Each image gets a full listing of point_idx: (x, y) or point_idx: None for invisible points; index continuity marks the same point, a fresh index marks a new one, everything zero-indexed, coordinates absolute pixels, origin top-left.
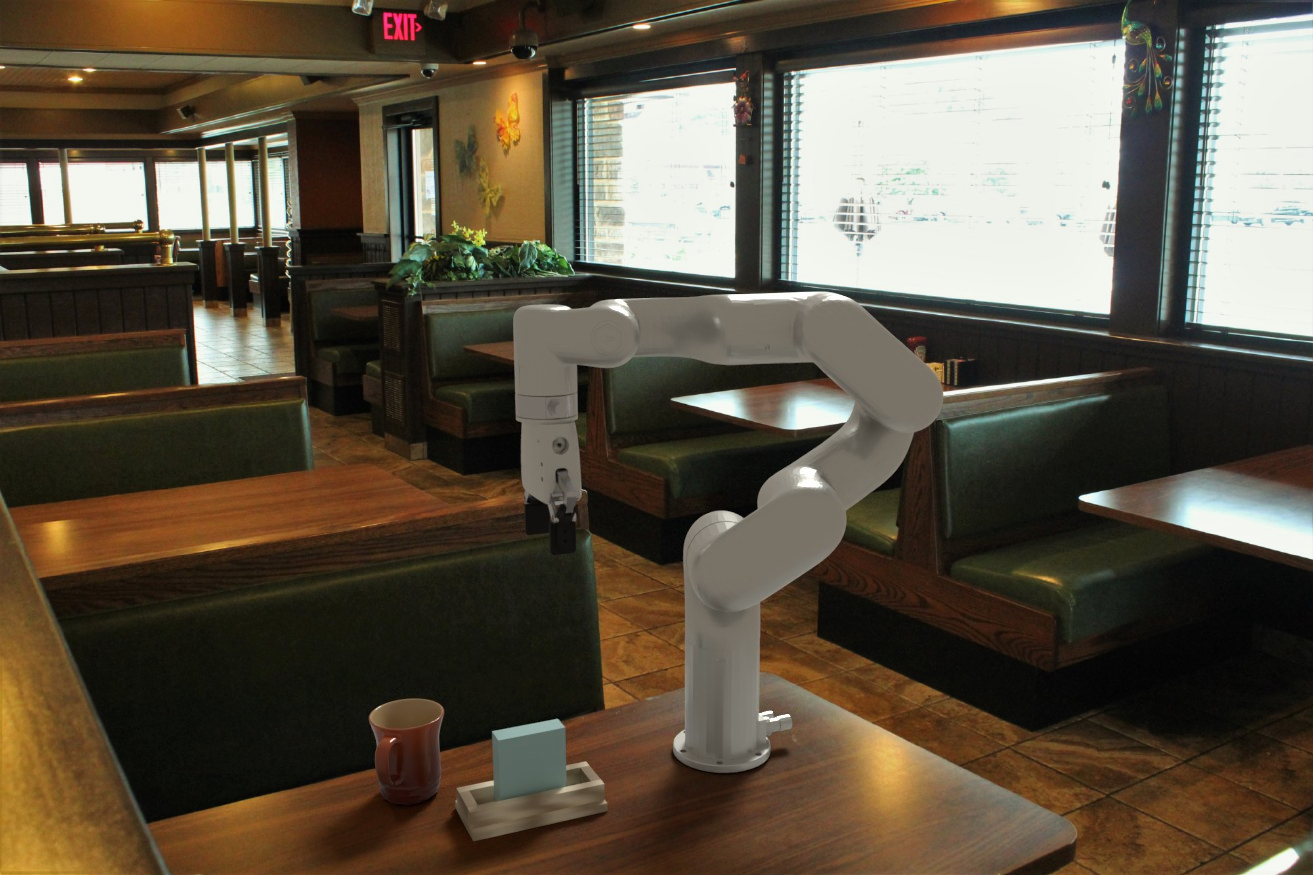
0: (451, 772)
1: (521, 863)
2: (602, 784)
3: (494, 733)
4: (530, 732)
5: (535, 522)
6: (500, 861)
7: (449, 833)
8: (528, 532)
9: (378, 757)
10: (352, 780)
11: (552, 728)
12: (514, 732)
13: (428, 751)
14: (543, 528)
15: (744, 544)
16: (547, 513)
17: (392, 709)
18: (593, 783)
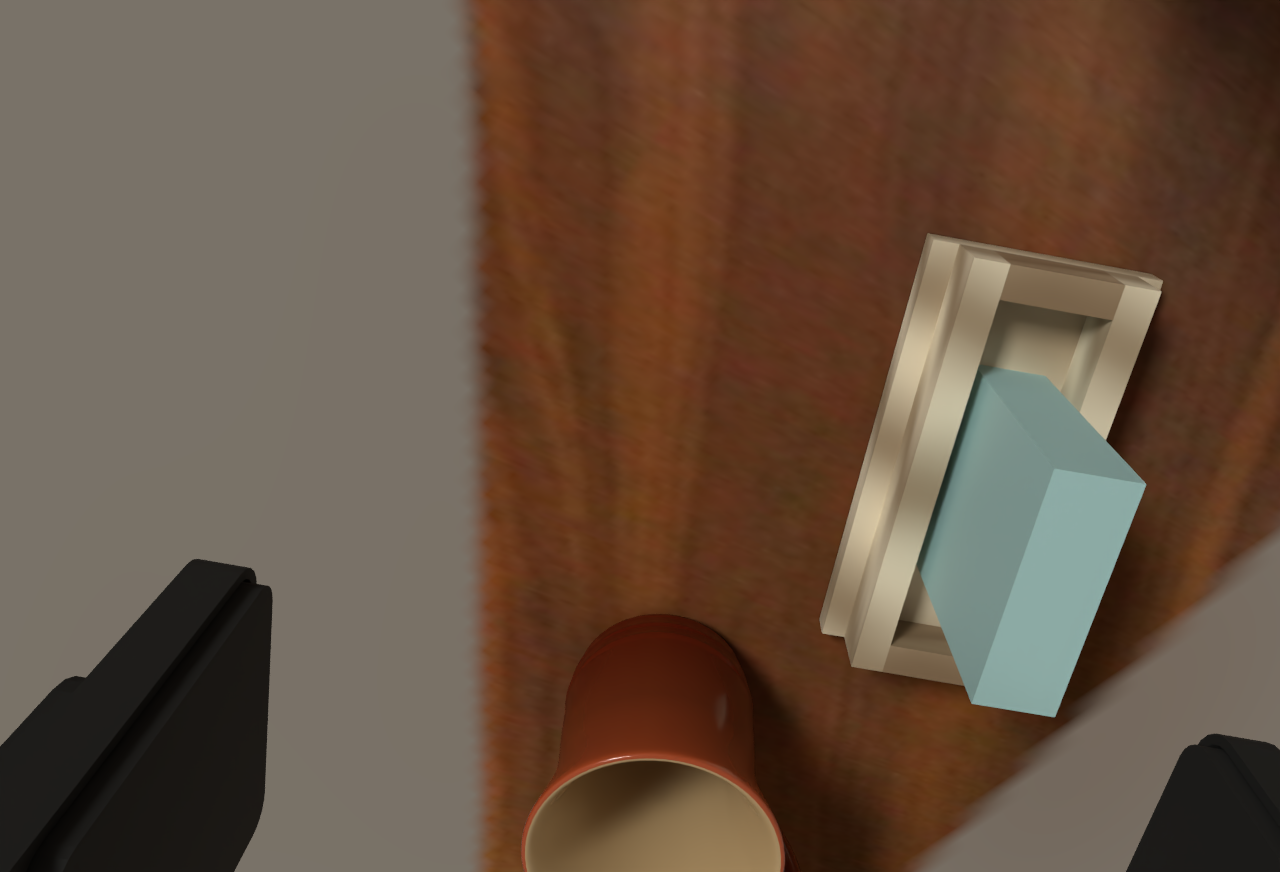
0: (608, 544)
1: (1195, 604)
2: (1157, 298)
3: (993, 703)
4: (1081, 605)
5: (204, 845)
6: (1146, 639)
7: (930, 680)
8: (249, 825)
9: None
10: (498, 761)
11: (1114, 526)
12: (1038, 649)
13: (750, 758)
14: (246, 684)
15: None
16: (143, 775)
17: (543, 848)
18: (1130, 321)
